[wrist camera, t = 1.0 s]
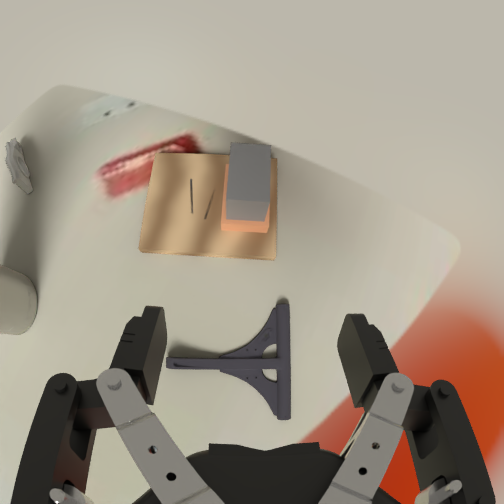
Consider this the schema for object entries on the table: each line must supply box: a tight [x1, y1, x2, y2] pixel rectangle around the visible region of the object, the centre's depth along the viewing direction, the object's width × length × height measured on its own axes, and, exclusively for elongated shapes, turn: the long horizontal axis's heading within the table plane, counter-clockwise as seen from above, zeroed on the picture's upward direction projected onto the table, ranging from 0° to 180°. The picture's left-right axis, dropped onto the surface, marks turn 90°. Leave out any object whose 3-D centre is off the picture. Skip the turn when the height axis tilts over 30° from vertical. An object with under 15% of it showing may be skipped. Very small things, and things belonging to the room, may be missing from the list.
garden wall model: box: [5, 138, 33, 194], centre depth 38 cm, size 12×2×6 cm, turn 36°
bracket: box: [166, 304, 291, 420], centre depth 35 cm, size 14×15×3 cm
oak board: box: [139, 153, 277, 260], centre depth 40 cm, size 17×14×2 cm
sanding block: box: [221, 143, 271, 233], centre depth 36 cm, size 6×8×8 cm
